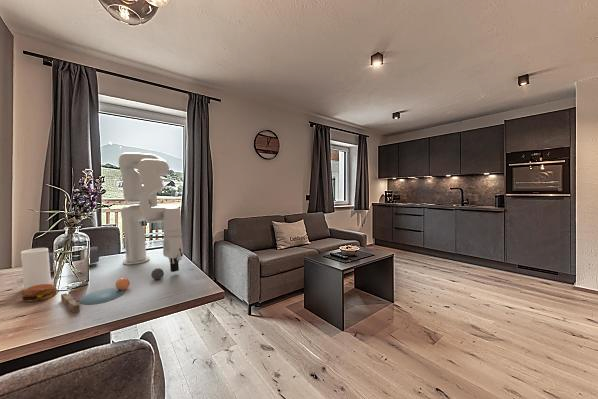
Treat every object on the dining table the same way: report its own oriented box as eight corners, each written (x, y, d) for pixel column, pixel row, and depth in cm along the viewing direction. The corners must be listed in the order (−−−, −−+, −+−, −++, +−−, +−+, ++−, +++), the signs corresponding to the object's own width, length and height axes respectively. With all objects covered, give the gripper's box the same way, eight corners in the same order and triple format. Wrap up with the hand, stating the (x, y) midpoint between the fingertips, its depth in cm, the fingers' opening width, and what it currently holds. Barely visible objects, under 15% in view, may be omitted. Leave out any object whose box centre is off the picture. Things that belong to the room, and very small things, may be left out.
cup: (37, 290, 109) (34, 252, 108) (18, 290, 109) (14, 252, 108) (56, 283, 117) (53, 247, 116) (38, 283, 118) (35, 247, 116)
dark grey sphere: (149, 279, 120) (148, 269, 120) (160, 276, 124) (160, 265, 124) (154, 282, 117) (154, 271, 117) (166, 278, 121) (165, 268, 121)
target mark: (74, 297, 102) (74, 297, 102) (116, 285, 113) (116, 285, 113) (86, 308, 94) (86, 307, 94) (130, 294, 105) (130, 293, 105)
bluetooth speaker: (97, 261, 147) (95, 244, 147) (99, 265, 141) (98, 247, 140) (40, 272, 132) (38, 252, 131) (40, 277, 125) (38, 256, 124)
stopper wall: (61, 300, 100) (60, 294, 100) (66, 299, 101) (66, 293, 101) (74, 313, 90) (73, 306, 90) (79, 311, 91) (79, 304, 91)
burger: (43, 291, 109) (42, 280, 108) (62, 293, 107) (61, 282, 107) (14, 303, 99) (13, 291, 99) (35, 304, 98) (34, 292, 97)
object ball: (113, 290, 109) (113, 278, 108) (127, 286, 113) (126, 274, 112) (118, 293, 106) (117, 281, 105) (132, 289, 110) (131, 277, 109)
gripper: (156, 232, 126) (158, 270, 128) (173, 236, 118) (175, 276, 119) (171, 230, 133) (173, 266, 134) (189, 233, 124) (190, 271, 125)
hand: (174, 270), depth 127 cm, fingers closed
